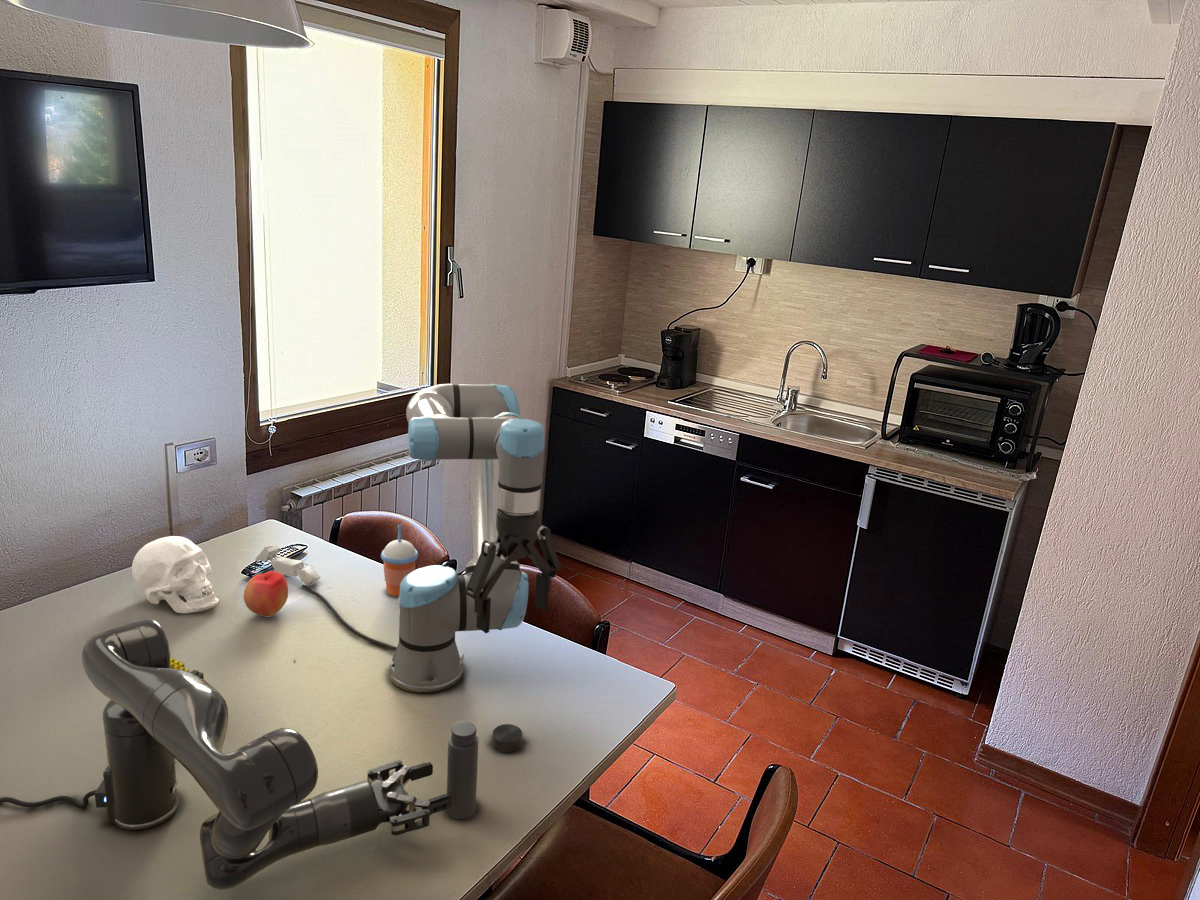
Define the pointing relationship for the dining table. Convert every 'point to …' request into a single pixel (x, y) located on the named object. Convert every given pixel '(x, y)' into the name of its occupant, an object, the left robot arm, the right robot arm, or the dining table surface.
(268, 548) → the clamp
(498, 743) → the lid
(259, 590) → the apple
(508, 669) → the dining table surface
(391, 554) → the cup with straw
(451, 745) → the jar
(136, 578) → the skull
